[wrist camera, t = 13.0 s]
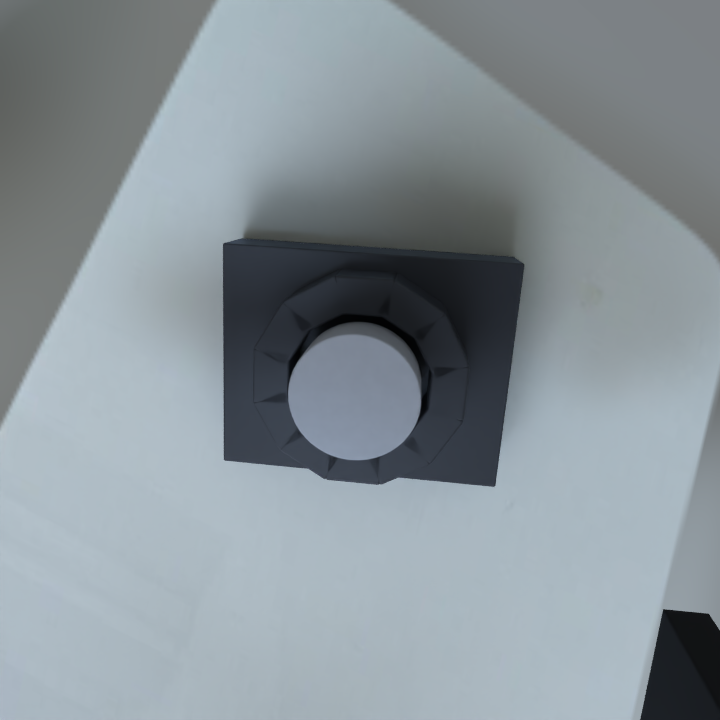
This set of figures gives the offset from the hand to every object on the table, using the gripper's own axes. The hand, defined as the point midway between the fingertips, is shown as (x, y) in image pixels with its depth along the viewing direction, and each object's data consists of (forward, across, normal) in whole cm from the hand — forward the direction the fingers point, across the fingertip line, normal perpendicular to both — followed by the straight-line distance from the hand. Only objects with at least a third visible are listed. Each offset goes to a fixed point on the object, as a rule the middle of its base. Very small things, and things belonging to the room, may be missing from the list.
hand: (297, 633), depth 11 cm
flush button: (+9, 0, +2) cm, 9 cm away
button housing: (+13, 0, +2) cm, 13 cm away
